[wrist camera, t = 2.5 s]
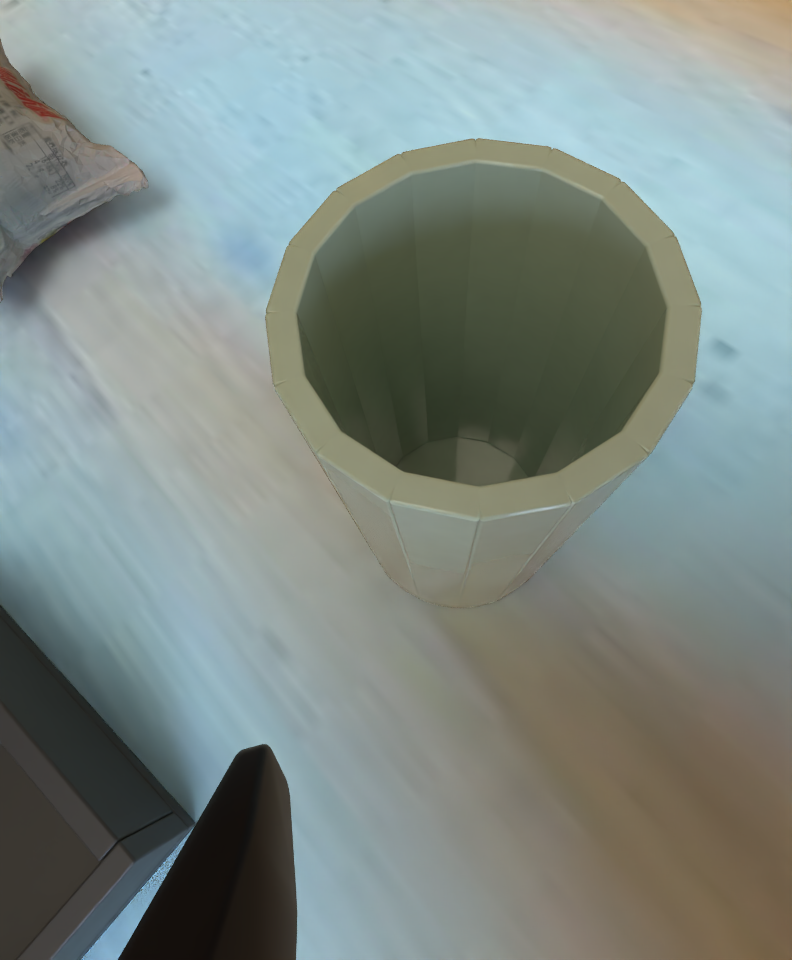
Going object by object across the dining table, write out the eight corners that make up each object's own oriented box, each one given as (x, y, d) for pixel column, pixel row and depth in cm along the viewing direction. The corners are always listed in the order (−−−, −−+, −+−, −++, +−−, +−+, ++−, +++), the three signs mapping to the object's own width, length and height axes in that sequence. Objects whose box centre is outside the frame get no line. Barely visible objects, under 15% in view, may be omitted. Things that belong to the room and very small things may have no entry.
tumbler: (533, 627, 20) (677, 562, 8) (348, 585, 21) (213, 467, 9) (562, 449, 22) (717, 165, 10) (390, 417, 23) (326, 118, 10)
